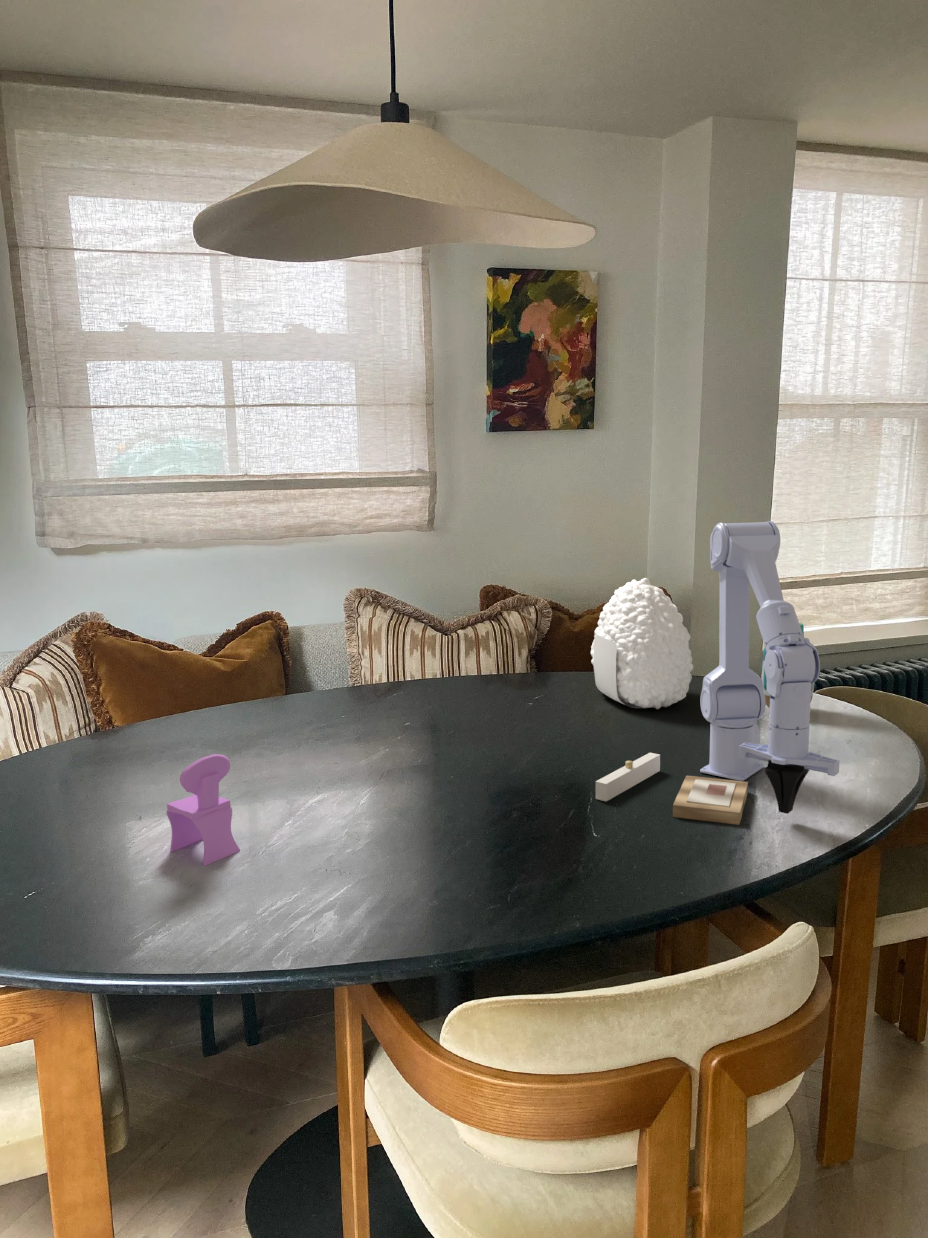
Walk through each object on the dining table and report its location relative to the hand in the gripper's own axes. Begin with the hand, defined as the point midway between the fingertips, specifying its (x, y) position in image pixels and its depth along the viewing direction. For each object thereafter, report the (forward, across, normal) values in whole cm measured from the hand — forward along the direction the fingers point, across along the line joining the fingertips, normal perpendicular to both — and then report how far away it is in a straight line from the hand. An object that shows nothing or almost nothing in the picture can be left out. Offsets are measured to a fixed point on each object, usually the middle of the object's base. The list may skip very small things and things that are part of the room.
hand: (785, 810), depth 143 cm
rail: (+2, -27, 0) cm, 27 cm away
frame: (+2, -12, 0) cm, 12 cm away
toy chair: (+2, -63, -60) cm, 87 cm away
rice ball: (+2, -52, +48) cm, 71 cm away
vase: (+2, -22, +57) cm, 61 cm away
